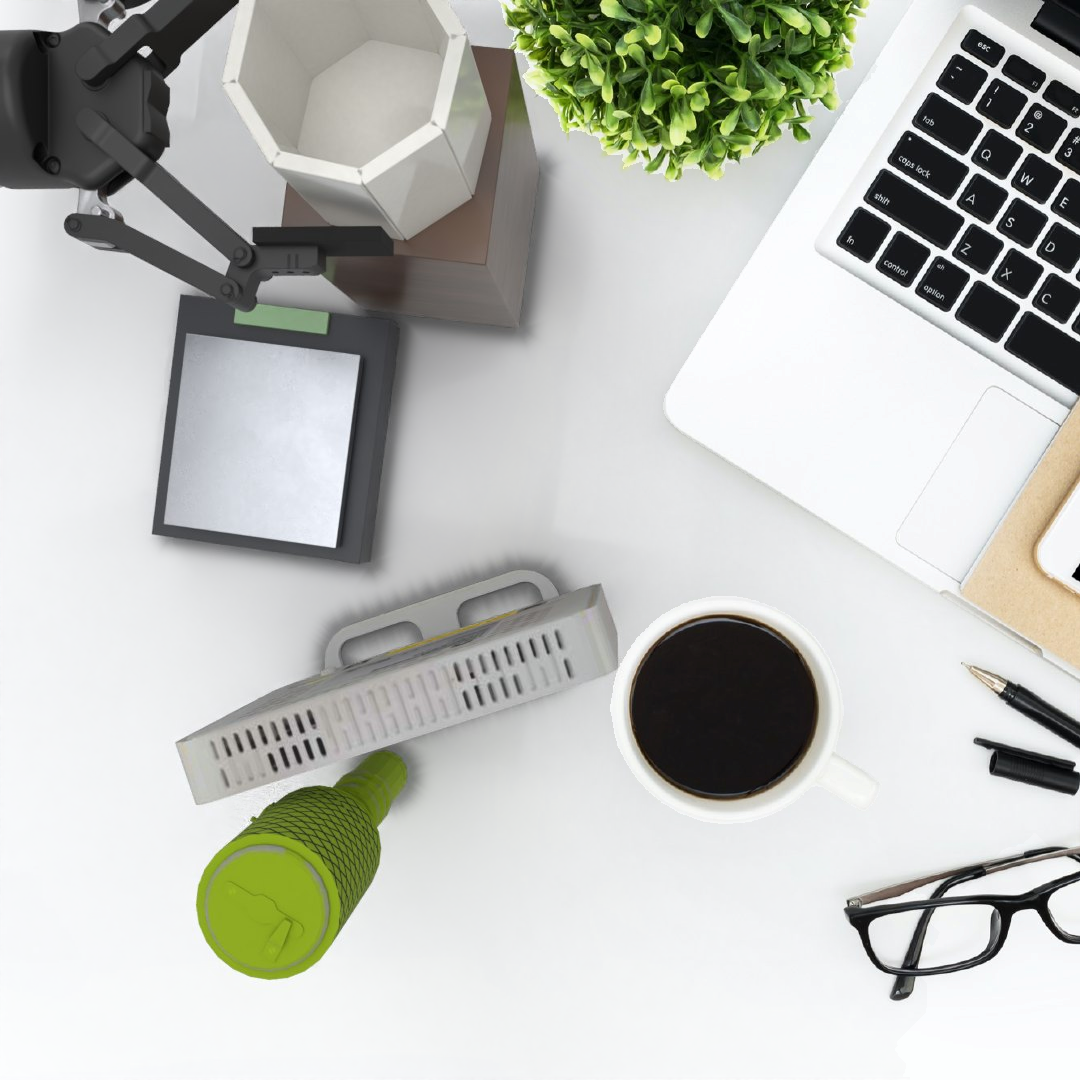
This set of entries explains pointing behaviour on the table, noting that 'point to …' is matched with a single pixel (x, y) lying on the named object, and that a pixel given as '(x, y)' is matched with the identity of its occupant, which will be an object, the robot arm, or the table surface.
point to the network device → (407, 685)
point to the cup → (362, 106)
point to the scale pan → (263, 440)
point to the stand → (458, 227)
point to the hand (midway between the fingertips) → (390, 105)
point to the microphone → (298, 872)
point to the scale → (379, 354)
